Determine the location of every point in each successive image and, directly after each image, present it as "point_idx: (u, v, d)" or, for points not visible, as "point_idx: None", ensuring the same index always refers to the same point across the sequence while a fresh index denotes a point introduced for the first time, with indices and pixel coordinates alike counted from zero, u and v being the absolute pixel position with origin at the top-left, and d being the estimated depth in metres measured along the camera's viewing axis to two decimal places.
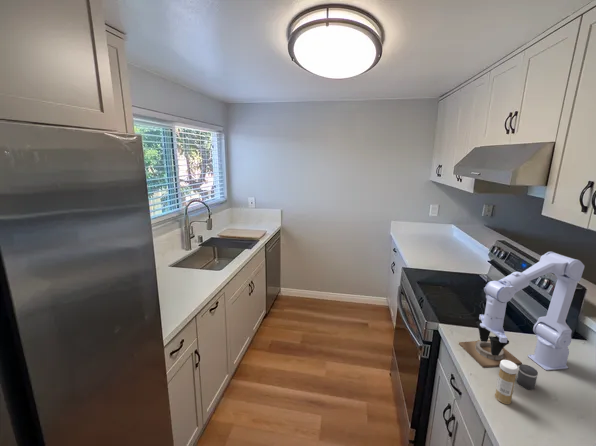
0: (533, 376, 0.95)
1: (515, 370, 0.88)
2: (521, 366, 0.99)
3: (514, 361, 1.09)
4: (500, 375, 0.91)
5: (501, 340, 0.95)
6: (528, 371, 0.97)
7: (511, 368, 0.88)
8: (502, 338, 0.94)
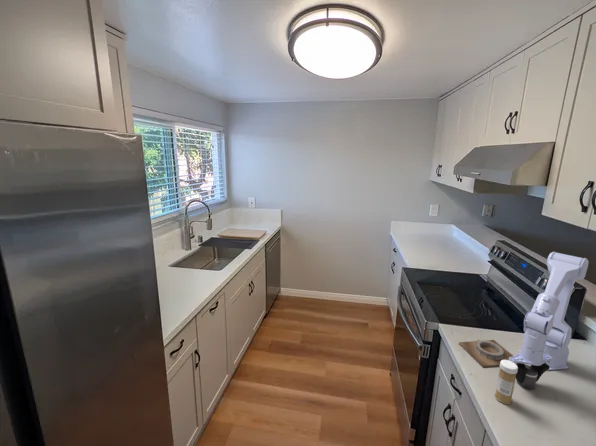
0: (533, 376, 0.95)
1: (515, 370, 0.88)
2: None
3: None
4: (500, 375, 0.91)
5: (509, 360, 0.97)
6: (528, 371, 0.97)
7: (511, 368, 0.88)
8: (510, 358, 0.96)
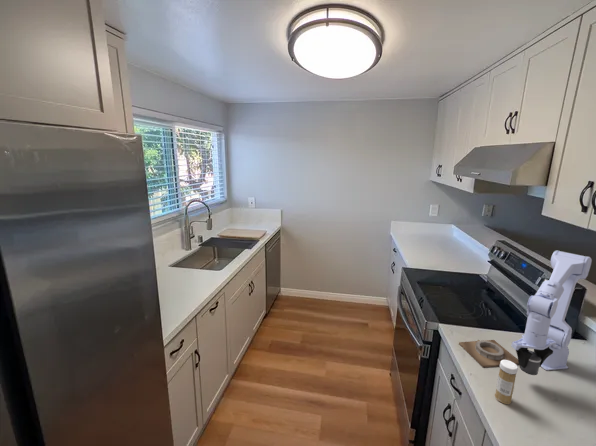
0: (537, 361, 0.94)
1: (515, 370, 0.88)
2: None
3: (514, 361, 1.09)
4: (500, 375, 0.91)
5: (512, 344, 0.95)
6: (531, 356, 0.95)
7: (511, 368, 0.88)
8: (512, 343, 0.95)
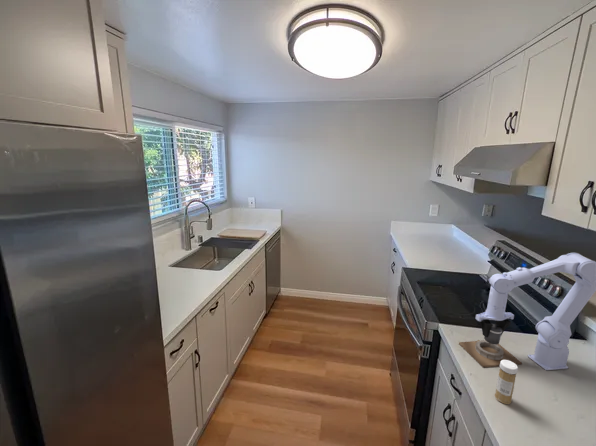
0: (498, 333, 1.09)
1: (515, 370, 0.88)
2: None
3: (514, 361, 1.09)
4: (500, 375, 0.91)
5: (476, 317, 1.11)
6: (494, 328, 1.10)
7: (511, 368, 0.88)
8: (476, 315, 1.10)
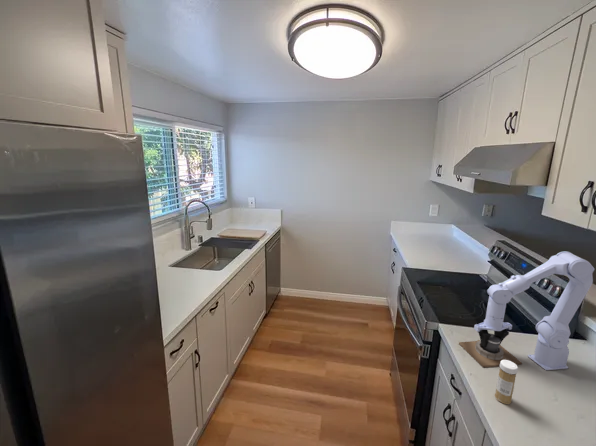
0: (496, 343, 1.10)
1: (515, 370, 0.88)
2: None
3: (514, 361, 1.09)
4: (500, 375, 0.91)
5: (474, 327, 1.12)
6: (492, 339, 1.11)
7: (511, 368, 0.88)
8: (475, 325, 1.11)
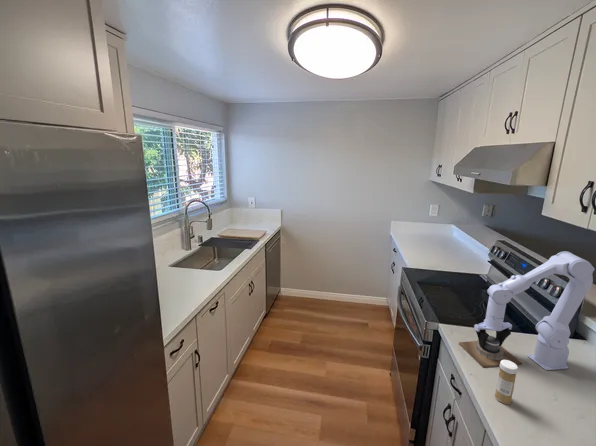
0: (496, 345, 1.10)
1: (515, 370, 0.88)
2: None
3: (514, 361, 1.09)
4: (500, 375, 0.91)
5: (474, 327, 1.12)
6: (491, 340, 1.11)
7: (511, 368, 0.88)
8: (475, 325, 1.11)
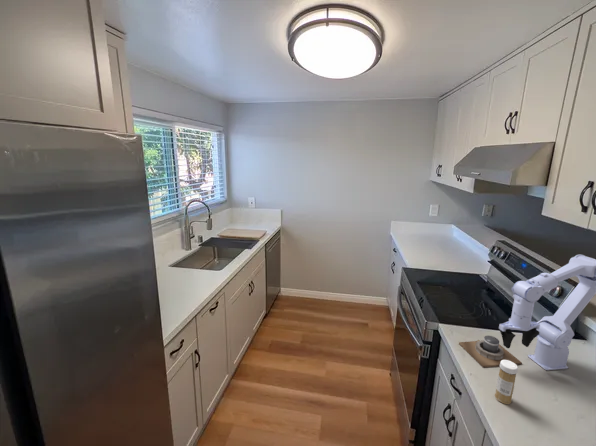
0: (495, 345, 1.10)
1: (515, 370, 0.88)
2: (486, 337, 1.14)
3: (514, 361, 1.09)
4: (500, 375, 0.91)
5: (499, 326, 1.04)
6: (491, 340, 1.11)
7: (511, 368, 0.88)
8: (500, 325, 1.04)
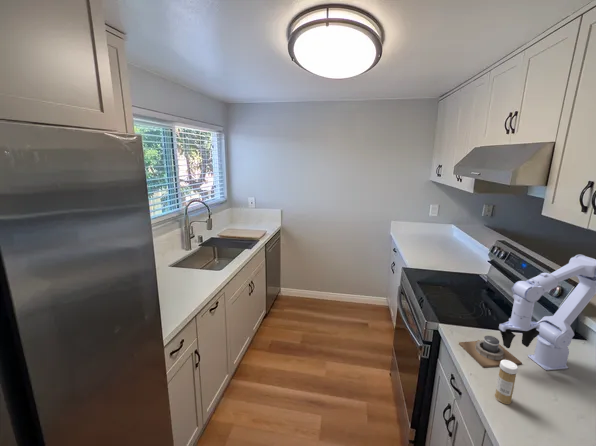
0: (495, 345, 1.10)
1: (515, 370, 0.88)
2: (486, 337, 1.14)
3: (514, 361, 1.09)
4: (500, 375, 0.91)
5: (499, 326, 1.04)
6: (491, 340, 1.12)
7: (511, 368, 0.88)
8: (500, 325, 1.04)
